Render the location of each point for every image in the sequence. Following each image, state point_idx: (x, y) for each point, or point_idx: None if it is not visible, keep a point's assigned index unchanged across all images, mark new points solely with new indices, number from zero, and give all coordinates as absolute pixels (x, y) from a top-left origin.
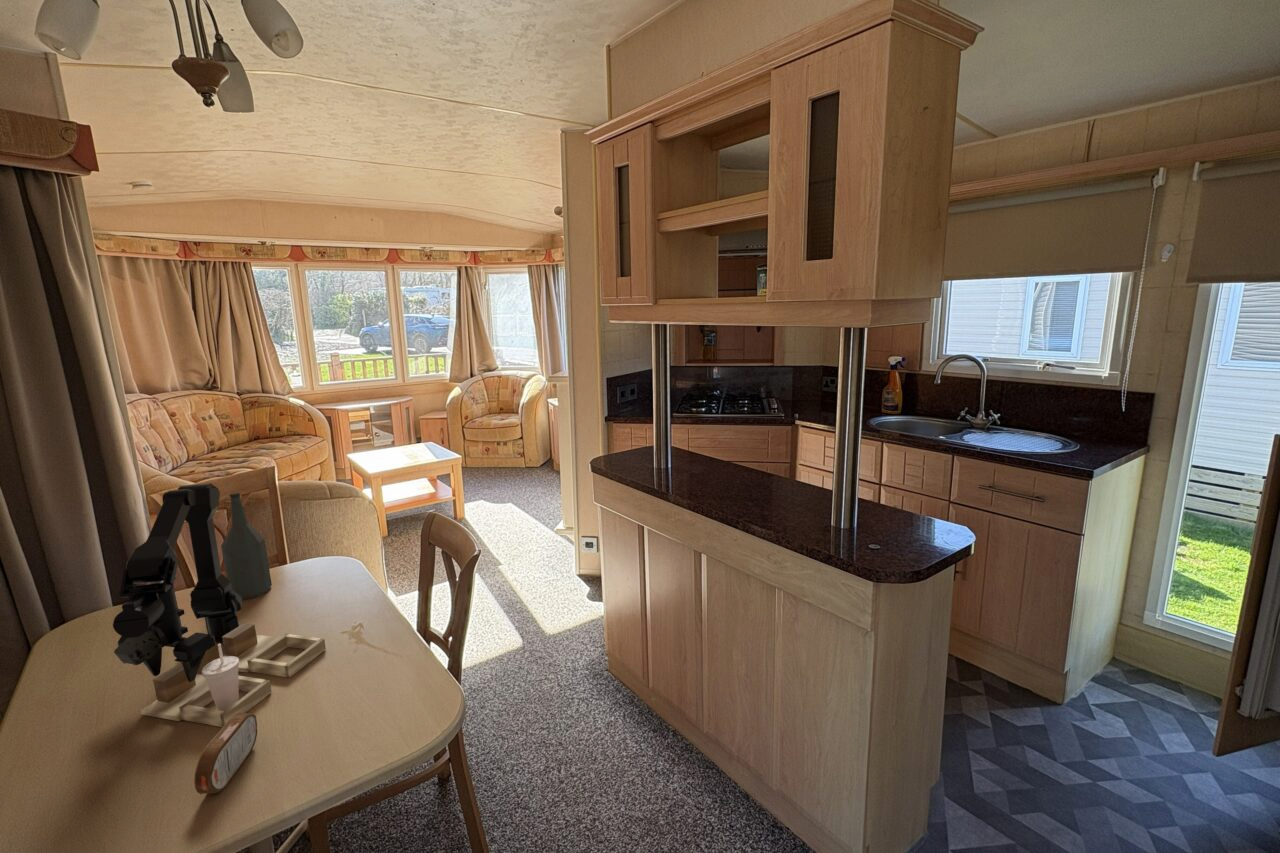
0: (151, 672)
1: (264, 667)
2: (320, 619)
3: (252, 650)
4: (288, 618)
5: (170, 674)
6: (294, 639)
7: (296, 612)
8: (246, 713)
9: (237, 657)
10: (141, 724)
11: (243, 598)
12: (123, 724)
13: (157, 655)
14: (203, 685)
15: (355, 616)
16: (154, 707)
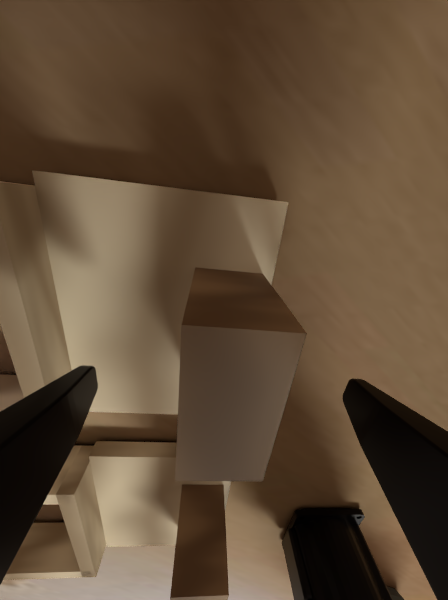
0: (386, 396)
1: None
2: (126, 579)
3: (162, 508)
4: None
5: (219, 396)
6: (52, 561)
7: None
8: None
9: (177, 485)
10: (228, 137)
11: None
12: (318, 127)
13: (444, 557)
14: (154, 375)
15: (53, 594)
16: (234, 228)
